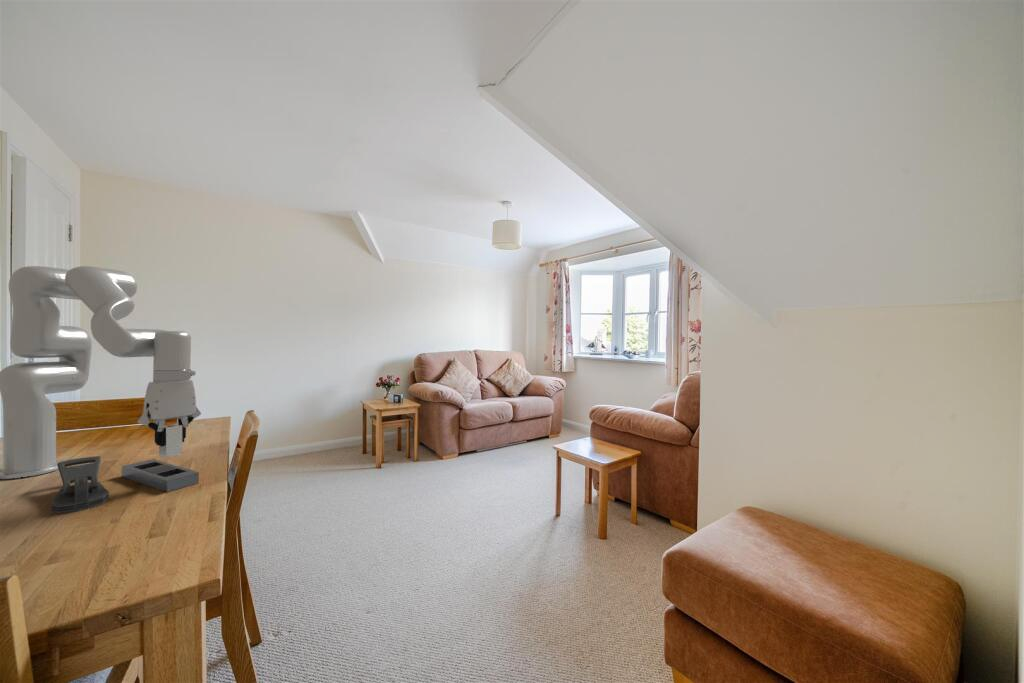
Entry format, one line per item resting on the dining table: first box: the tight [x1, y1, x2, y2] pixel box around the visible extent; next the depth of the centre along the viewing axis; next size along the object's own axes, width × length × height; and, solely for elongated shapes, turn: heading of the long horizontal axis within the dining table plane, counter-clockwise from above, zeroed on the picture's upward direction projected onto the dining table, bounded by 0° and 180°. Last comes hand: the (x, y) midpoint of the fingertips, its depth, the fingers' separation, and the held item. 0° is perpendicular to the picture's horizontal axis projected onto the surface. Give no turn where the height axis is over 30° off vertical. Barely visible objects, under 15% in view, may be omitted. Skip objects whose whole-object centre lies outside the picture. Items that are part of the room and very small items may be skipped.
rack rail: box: [121, 458, 200, 493], centre depth 107 cm, size 24×7×3 cm, turn 65°
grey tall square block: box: [158, 423, 183, 459], centre depth 104 cm, size 4×4×8 cm
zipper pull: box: [51, 455, 110, 515], centre depth 96 cm, size 9×7×25 cm
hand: (170, 442), depth 104 cm, fingers closed on grey tall square block, 3 cm apart
